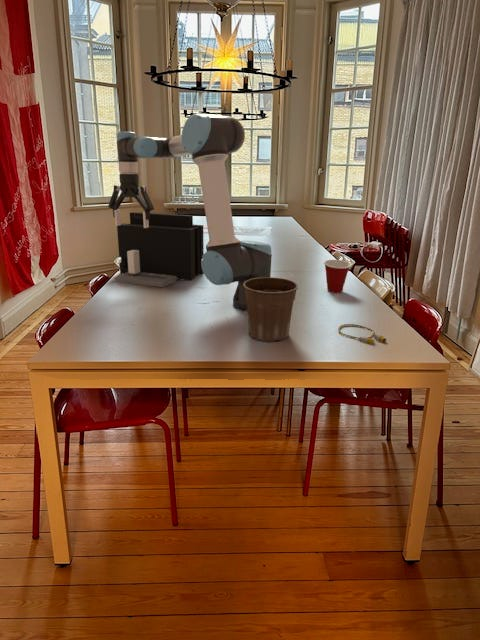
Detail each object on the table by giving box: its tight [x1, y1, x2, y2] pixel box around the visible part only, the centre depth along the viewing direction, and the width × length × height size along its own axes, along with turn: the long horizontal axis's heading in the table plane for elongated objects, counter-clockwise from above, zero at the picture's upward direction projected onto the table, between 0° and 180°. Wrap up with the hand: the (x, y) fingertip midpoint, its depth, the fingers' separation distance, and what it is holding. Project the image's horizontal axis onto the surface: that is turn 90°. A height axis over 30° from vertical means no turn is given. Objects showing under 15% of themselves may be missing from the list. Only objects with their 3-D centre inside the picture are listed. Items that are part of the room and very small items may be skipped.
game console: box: [116, 211, 205, 282], centre depth 215 cm, size 35×30×27 cm
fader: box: [127, 250, 141, 276], centre depth 198 cm, size 6×3×10 cm, turn 160°
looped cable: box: [338, 323, 387, 345], centre depth 143 cm, size 12×16×2 cm
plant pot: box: [243, 276, 299, 343], centre depth 139 cm, size 16×16×16 cm
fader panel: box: [114, 272, 178, 288], centre depth 198 cm, size 12×23×2 cm, turn 70°
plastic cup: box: [323, 259, 352, 294], centre depth 187 cm, size 11×11×12 cm
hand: (132, 226), depth 193 cm, fingers open, 13 cm apart
